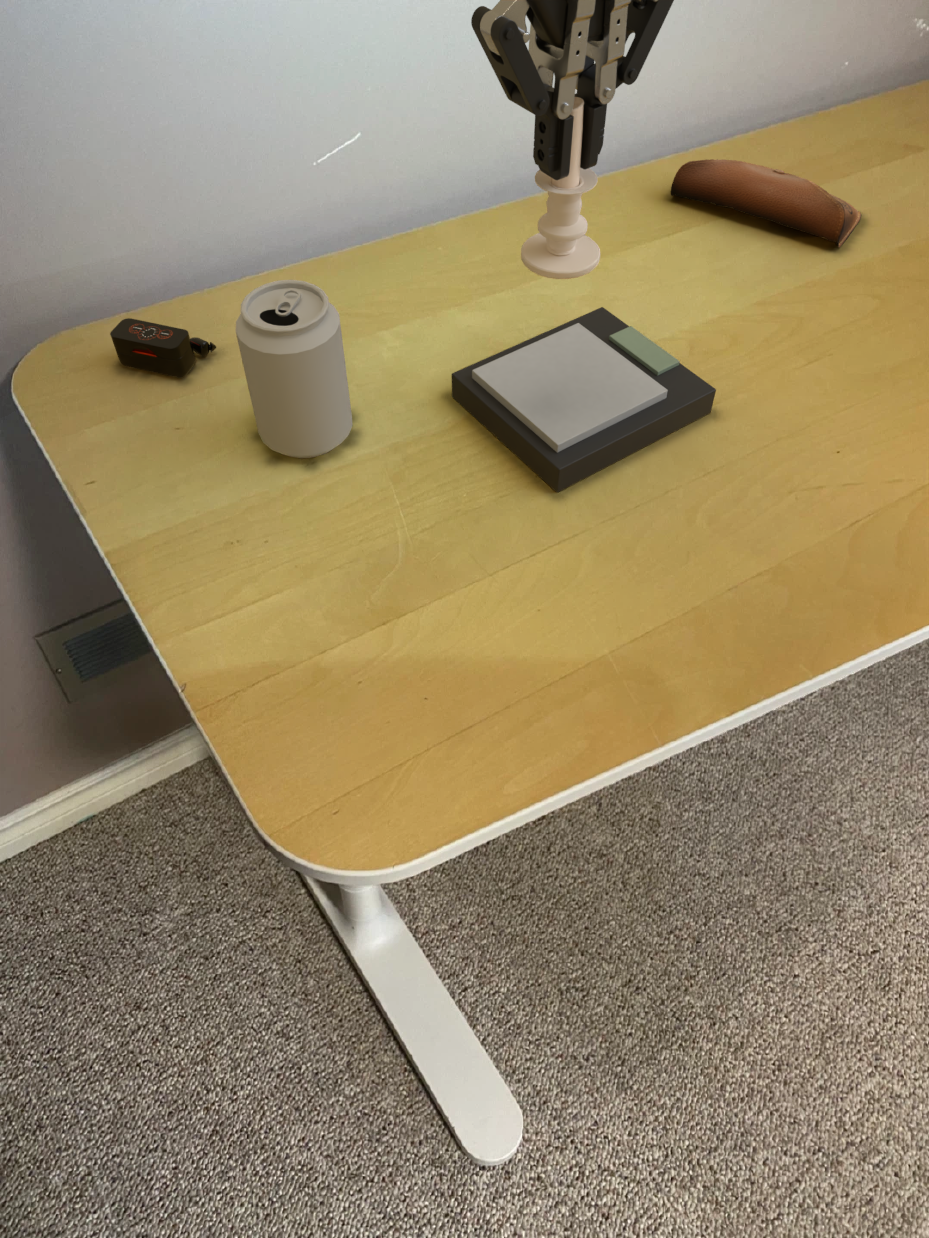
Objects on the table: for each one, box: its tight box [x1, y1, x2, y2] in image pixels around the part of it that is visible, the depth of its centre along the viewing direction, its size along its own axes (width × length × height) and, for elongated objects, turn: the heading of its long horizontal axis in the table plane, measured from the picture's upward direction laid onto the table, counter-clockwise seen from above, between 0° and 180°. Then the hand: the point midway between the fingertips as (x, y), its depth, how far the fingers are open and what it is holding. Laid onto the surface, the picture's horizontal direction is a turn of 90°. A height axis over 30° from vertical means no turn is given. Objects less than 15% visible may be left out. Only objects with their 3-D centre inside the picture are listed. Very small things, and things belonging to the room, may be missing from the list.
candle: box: [520, 97, 601, 280], centre depth 59 cm, size 5×5×10 cm
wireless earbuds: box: [109, 317, 217, 379], centre depth 82 cm, size 5×7×3 cm, turn 71°
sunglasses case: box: [670, 158, 863, 249], centre depth 96 cm, size 18×7×7 cm
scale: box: [451, 306, 717, 493], centre depth 78 cm, size 16×14×3 cm
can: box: [235, 279, 354, 459], centre depth 72 cm, size 8×8×12 cm
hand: (567, 167), depth 59 cm, fingers closed on candle
